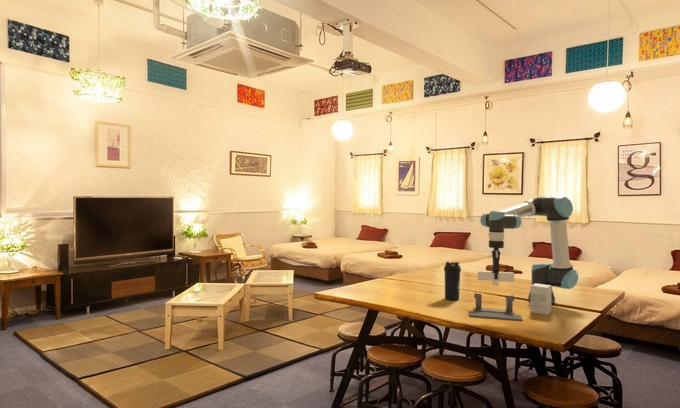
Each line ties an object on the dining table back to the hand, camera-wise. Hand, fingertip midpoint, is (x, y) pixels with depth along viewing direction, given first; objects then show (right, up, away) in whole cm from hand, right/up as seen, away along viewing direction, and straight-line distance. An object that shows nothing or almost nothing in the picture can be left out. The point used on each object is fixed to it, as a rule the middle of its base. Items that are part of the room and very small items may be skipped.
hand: (495, 284), depth 232 cm
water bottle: (-13, -17, +40) cm, 45 cm away
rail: (0, +2, 0) cm, 2 cm away
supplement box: (+29, -17, +11) cm, 35 cm away
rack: (+3, -17, +12) cm, 21 cm away
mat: (0, -17, 0) cm, 17 cm away
